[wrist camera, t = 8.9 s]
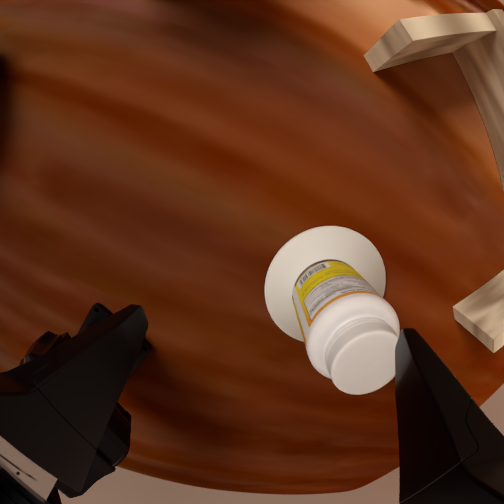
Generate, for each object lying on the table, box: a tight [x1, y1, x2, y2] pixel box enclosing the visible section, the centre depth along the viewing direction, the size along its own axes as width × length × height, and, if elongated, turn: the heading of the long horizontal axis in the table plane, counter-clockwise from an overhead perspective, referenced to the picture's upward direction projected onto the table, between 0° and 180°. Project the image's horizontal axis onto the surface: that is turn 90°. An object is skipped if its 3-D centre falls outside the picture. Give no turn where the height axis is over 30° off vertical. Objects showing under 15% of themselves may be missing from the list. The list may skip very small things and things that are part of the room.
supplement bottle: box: [292, 259, 400, 395], centre depth 18 cm, size 6×6×10 cm
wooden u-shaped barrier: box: [364, 9, 504, 353], centre depth 17 cm, size 12×26×8 cm, turn 26°
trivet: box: [265, 226, 386, 342], centre depth 23 cm, size 10×10×1 cm
